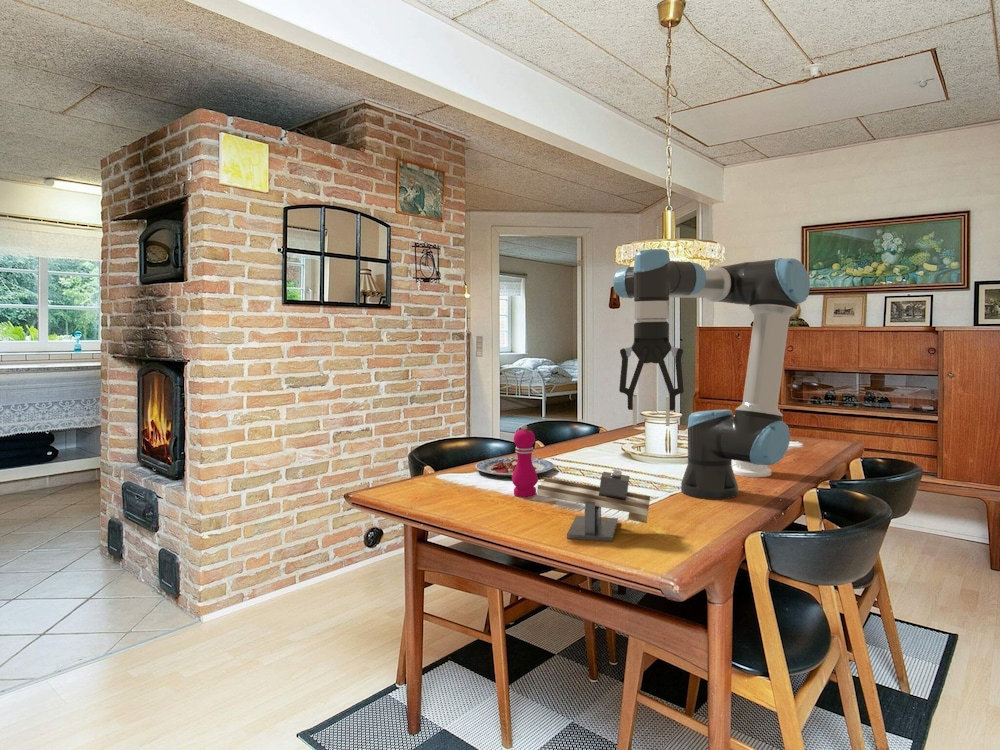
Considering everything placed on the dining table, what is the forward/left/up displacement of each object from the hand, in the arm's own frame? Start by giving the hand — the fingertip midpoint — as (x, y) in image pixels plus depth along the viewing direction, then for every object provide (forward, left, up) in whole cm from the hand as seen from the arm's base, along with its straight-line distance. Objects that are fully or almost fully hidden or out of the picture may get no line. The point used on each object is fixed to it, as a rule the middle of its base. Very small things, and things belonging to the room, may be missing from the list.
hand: (651, 424), depth 141 cm
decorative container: (-29, -67, -25) cm, 77 cm away
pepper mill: (+35, -27, -25) cm, 51 cm away
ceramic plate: (+45, -55, -25) cm, 76 cm away
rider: (+8, 0, -17) cm, 19 cm away
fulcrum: (+13, 0, -25) cm, 28 cm away
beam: (+13, 0, -20) cm, 24 cm away
